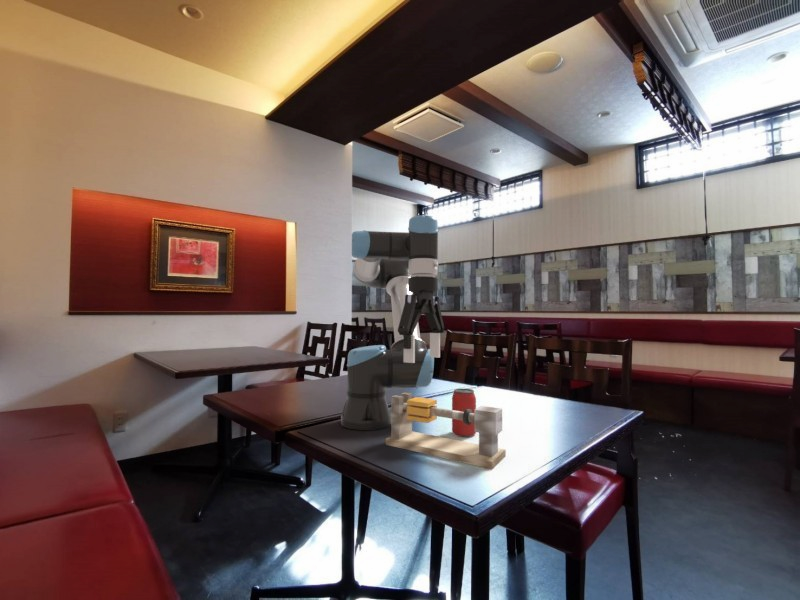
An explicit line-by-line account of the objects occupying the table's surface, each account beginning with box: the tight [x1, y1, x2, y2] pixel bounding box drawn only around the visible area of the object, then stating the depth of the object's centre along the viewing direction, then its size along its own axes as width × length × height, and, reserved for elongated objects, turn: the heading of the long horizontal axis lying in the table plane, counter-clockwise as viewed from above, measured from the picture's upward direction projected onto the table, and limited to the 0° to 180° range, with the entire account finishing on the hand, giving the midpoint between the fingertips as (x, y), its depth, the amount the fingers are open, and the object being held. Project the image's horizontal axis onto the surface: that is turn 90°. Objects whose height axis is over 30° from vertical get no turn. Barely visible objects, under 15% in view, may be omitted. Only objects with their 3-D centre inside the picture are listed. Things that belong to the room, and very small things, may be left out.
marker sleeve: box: [407, 396, 438, 424], centre depth 97 cm, size 6×5×5 cm
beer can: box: [451, 388, 477, 438], centre depth 107 cm, size 7×7×12 cm
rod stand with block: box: [385, 392, 507, 470], centre depth 94 cm, size 28×9×12 cm, turn 57°
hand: (422, 359), depth 98 cm, fingers open, 13 cm apart
